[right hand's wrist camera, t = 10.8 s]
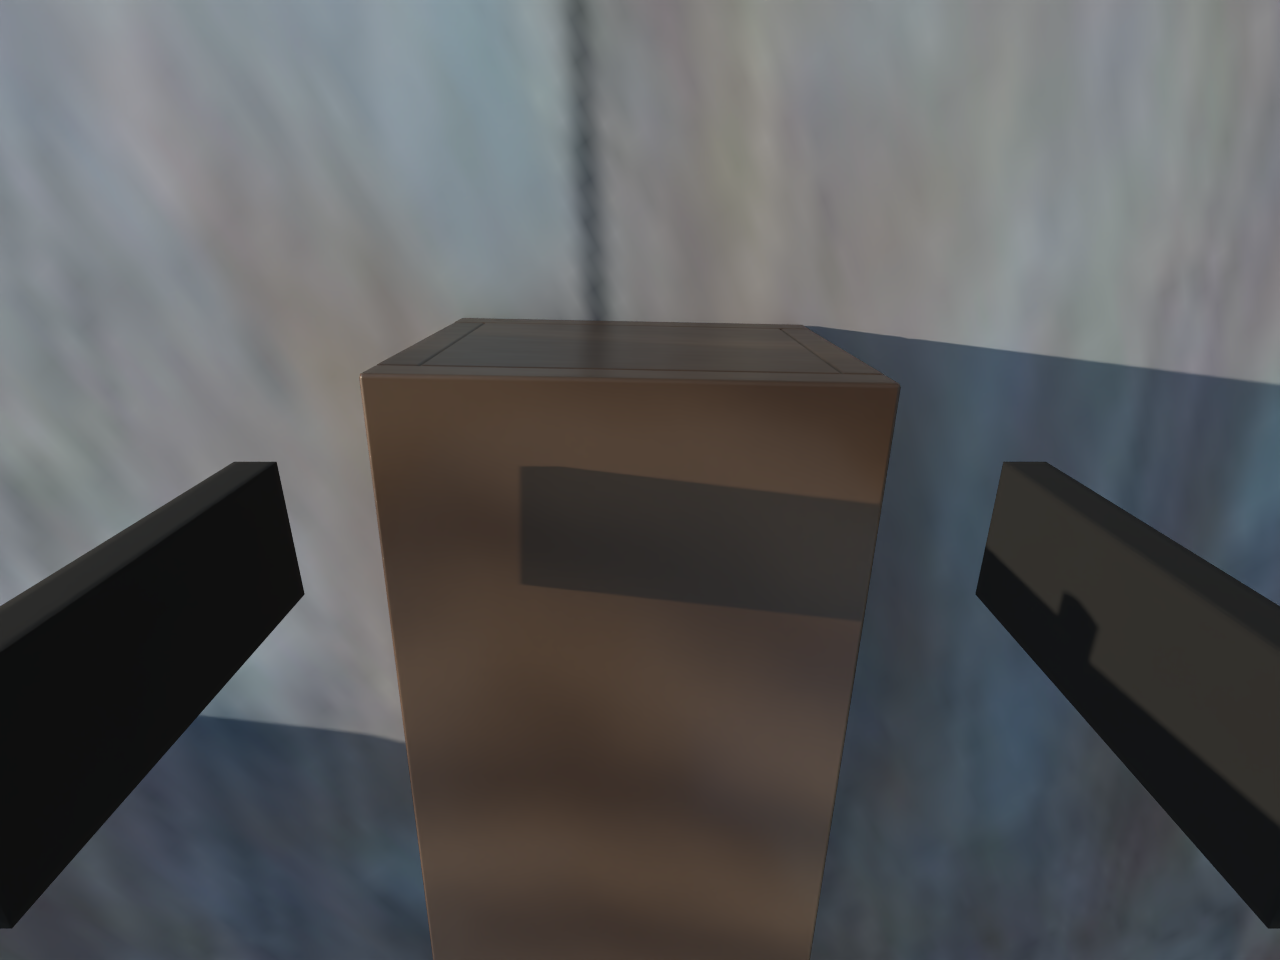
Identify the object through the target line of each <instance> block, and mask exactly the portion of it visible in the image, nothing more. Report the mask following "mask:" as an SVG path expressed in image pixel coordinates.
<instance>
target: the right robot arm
mask: <svg viewBox="0 0 1280 960" xmlns="http://www.w3.org/2000/svg"><path fill="white" fill-rule="evenodd" d="M303 595H304V590H303V585H302V580H301V576H300V571H299V566H298V561H297V557H296V552H295V547H294V542H293V538H292V533H291V528H290V523H289V519H288V514H287V509H286V504H285V500H284V495H283V490H282V485H281V481H280V476H279V471H278V466H277V462H233V463H232V464H230V465H228V466H227V467H225V468H223V469H222V470H220V471H219V472H217V473H215V474H214V475H212V476H210V477H209V478H207V479H206V480H204V481H202V482H201V483H199V484H198V485H196V486H194V487H193V488H191V489H189V490H188V491H186V492H185V493H183V494H181V495H180V496H178V497H176V498H175V499H173V500H172V501H170V502H168V503H167V504H165V505H164V506H162V507H160V508H159V509H157V510H155V511H154V512H152V513H151V514H149V515H147V516H146V517H144V518H142V519H141V520H139V521H138V522H136V523H134V524H133V525H131V526H130V527H128V528H126V529H125V530H123V531H121V532H120V533H118V534H117V535H115V536H113V537H112V538H110V539H108V540H107V541H105V542H104V543H102V544H100V545H99V546H97V547H96V548H94V549H92V550H91V551H89V552H87V553H86V554H84V555H83V556H81V557H79V558H78V559H76V560H74V561H73V562H71V563H70V564H68V565H66V566H65V567H63V568H62V569H60V570H58V571H57V572H55V573H53V574H52V575H50V576H49V577H47V578H45V579H44V580H42V581H40V582H39V583H37V584H36V585H34V586H32V587H31V588H29V589H28V590H26V591H24V592H23V593H21V594H19V595H18V596H16V597H15V598H13V599H11V600H10V601H8V602H6V603H5V604H3V605H2V606H0V928H13V927H14V925H15V924H16V923H17V922H18V921H19V920H20V919H21V917H22V916H23V915H24V914H25V913H26V912H27V911H28V909H29V908H30V907H31V906H32V905H33V904H34V903H35V901H36V900H37V899H38V898H39V897H40V896H41V895H42V893H43V892H44V891H45V890H46V889H47V888H48V887H49V885H50V884H51V883H52V882H53V881H54V880H55V879H56V877H57V876H58V875H59V874H60V873H61V872H62V871H63V869H64V868H65V867H66V866H67V865H68V864H69V863H70V861H71V860H72V859H73V858H74V857H75V856H76V855H77V853H78V852H79V851H80V850H81V849H82V848H83V847H84V845H85V844H86V843H87V842H88V841H89V840H90V839H91V837H92V836H93V835H94V834H95V833H96V832H97V831H98V829H99V828H100V827H101V826H102V825H103V824H104V823H105V821H106V820H107V819H108V818H109V817H110V816H111V815H112V813H113V812H114V811H115V810H116V809H117V808H118V807H119V805H120V804H121V803H122V802H123V801H124V800H125V799H126V798H127V796H128V795H129V794H130V793H131V792H132V791H133V790H134V788H135V787H136V786H137V785H138V784H139V783H140V782H141V780H142V779H143V778H144V777H145V776H146V775H147V774H148V772H149V771H150V770H151V769H152V768H153V767H154V766H155V764H156V763H157V762H158V761H159V760H160V759H161V758H162V756H163V755H164V754H165V753H166V752H167V751H168V750H169V748H170V747H171V746H172V745H173V744H174V743H175V742H176V740H177V739H178V738H179V737H180V736H181V735H182V734H183V732H184V731H185V730H186V729H187V728H188V727H189V726H190V724H191V723H192V722H193V721H194V720H195V719H196V718H197V716H198V715H199V714H200V713H201V712H202V711H203V710H204V708H205V707H206V706H207V705H208V704H209V703H210V702H211V700H212V699H213V698H214V697H215V696H216V695H217V694H218V692H219V691H220V690H221V689H222V688H223V687H224V686H225V684H226V683H227V682H228V681H229V680H230V679H231V678H232V676H233V675H234V674H235V673H236V672H237V671H238V670H239V668H240V667H241V666H242V665H243V664H244V663H245V662H246V660H247V659H248V658H249V657H250V656H251V655H252V654H253V652H254V651H255V650H256V649H257V648H258V647H259V646H260V645H261V643H262V642H263V641H264V640H265V639H266V638H267V637H268V635H269V634H270V633H271V632H272V631H273V630H274V629H275V627H276V626H277V625H278V624H279V623H280V622H281V621H282V619H283V618H284V617H285V616H286V615H287V614H288V613H289V611H290V610H291V609H292V608H293V607H294V606H295V605H296V603H297V602H298V601H299V600H300V599H301V598H302V597H303ZM976 595H977V597H978V598H979V599H980V600H981V601H982V602H983V603H984V605H985V606H986V607H987V608H988V609H989V610H990V611H991V613H992V614H993V615H994V616H995V617H996V618H997V619H998V621H999V622H1000V623H1001V624H1002V625H1003V626H1004V627H1005V629H1006V630H1007V631H1008V632H1009V633H1010V634H1011V635H1012V637H1013V638H1014V639H1015V640H1016V641H1017V642H1018V643H1019V645H1020V646H1021V647H1022V648H1023V649H1024V650H1025V651H1026V652H1027V654H1028V655H1029V656H1030V657H1031V658H1032V659H1033V660H1034V662H1035V663H1036V664H1037V665H1038V666H1039V667H1040V668H1041V670H1042V671H1043V672H1044V673H1045V674H1046V675H1047V676H1048V678H1049V679H1050V680H1051V681H1052V682H1053V683H1054V684H1055V686H1056V687H1057V688H1058V689H1059V690H1060V691H1061V692H1062V694H1063V695H1064V696H1065V697H1066V698H1067V699H1068V700H1069V702H1070V703H1071V704H1072V705H1073V706H1074V707H1075V708H1076V710H1077V711H1078V712H1079V713H1080V714H1081V715H1082V716H1083V718H1084V719H1085V720H1086V721H1087V722H1088V723H1089V724H1090V726H1091V727H1092V728H1093V729H1094V730H1095V731H1096V732H1097V734H1098V735H1099V736H1100V737H1101V738H1102V739H1103V740H1104V742H1105V743H1106V744H1107V745H1108V746H1109V747H1110V748H1111V750H1112V751H1113V752H1114V753H1115V754H1116V755H1117V756H1118V758H1119V759H1120V760H1121V761H1122V762H1123V763H1124V764H1125V766H1126V767H1127V768H1128V769H1129V770H1130V771H1131V772H1132V774H1133V775H1134V776H1135V777H1136V778H1137V779H1138V780H1139V782H1140V783H1141V784H1142V785H1143V786H1144V787H1145V788H1146V790H1147V791H1148V792H1149V793H1150V794H1151V795H1152V796H1153V798H1154V799H1155V800H1156V801H1157V802H1158V803H1159V804H1160V805H1161V807H1162V808H1163V809H1164V810H1165V811H1166V812H1167V813H1168V815H1169V816H1170V817H1171V818H1172V819H1173V820H1174V821H1175V823H1176V824H1177V825H1178V826H1179V827H1180V828H1181V829H1182V831H1183V832H1184V833H1185V834H1186V835H1187V836H1188V837H1189V839H1190V840H1191V841H1192V842H1193V843H1194V844H1195V845H1196V847H1197V848H1198V849H1199V850H1200V851H1201V852H1202V853H1203V855H1204V856H1205V857H1206V858H1207V859H1208V860H1209V861H1210V863H1211V864H1212V865H1213V866H1214V867H1215V868H1216V869H1217V871H1218V872H1219V873H1220V874H1221V875H1222V876H1223V877H1224V879H1225V880H1226V881H1227V882H1228V883H1229V884H1230V885H1231V887H1232V888H1233V889H1234V890H1235V891H1236V892H1237V893H1238V895H1239V896H1240V897H1241V898H1242V899H1243V900H1244V901H1245V903H1246V904H1247V905H1248V906H1249V907H1250V908H1251V909H1252V911H1253V912H1254V913H1255V914H1256V915H1257V916H1258V917H1259V919H1260V920H1261V921H1262V922H1263V923H1264V924H1265V925H1266V927H1267V928H1280V606H1278V605H1277V604H1275V603H1274V602H1272V601H1270V600H1269V599H1267V598H1265V597H1264V596H1262V595H1261V594H1259V593H1257V592H1256V591H1254V590H1252V589H1251V588H1249V587H1248V586H1246V585H1244V584H1243V583H1241V582H1240V581H1238V580H1236V579H1235V578H1233V577H1231V576H1230V575H1228V574H1227V573H1225V572H1223V571H1222V570H1220V569H1218V568H1217V567H1215V566H1214V565H1212V564H1210V563H1209V562H1207V561H1206V560H1204V559H1202V558H1201V557H1199V556H1197V555H1196V554H1194V553H1193V552H1191V551H1189V550H1188V549H1186V548H1184V547H1183V546H1181V545H1180V544H1178V543H1176V542H1175V541H1173V540H1172V539H1170V538H1168V537H1167V536H1165V535H1163V534H1162V533H1160V532H1159V531H1157V530H1155V529H1154V528H1152V527H1150V526H1149V525H1147V524H1146V523H1144V522H1142V521H1141V520H1139V519H1138V518H1136V517H1134V516H1133V515H1131V514H1129V513H1128V512H1126V511H1125V510H1123V509H1121V508H1120V507H1118V506H1116V505H1115V504H1113V503H1112V502H1110V501H1108V500H1107V499H1105V498H1104V497H1102V496H1100V495H1099V494H1097V493H1095V492H1094V491H1092V490H1091V489H1089V488H1087V487H1086V486H1084V485H1082V484H1081V483H1079V482H1078V481H1076V480H1074V479H1073V478H1071V477H1070V476H1068V475H1066V474H1065V473H1063V472H1061V471H1060V470H1058V469H1057V468H1055V467H1053V466H1052V465H1050V464H1048V463H1047V462H1003V466H1002V471H1001V476H1000V481H999V485H998V490H997V495H996V500H995V504H994V509H993V514H992V519H991V523H990V528H989V533H988V538H987V542H986V547H985V552H984V557H983V561H982V566H981V571H980V576H979V580H978V585H977V590H976Z"/></svg>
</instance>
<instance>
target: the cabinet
mask: <svg viewBox="0 0 1280 960" xmlns="http://www.w3.org/2000/svg"><path fill="white" fill-rule="evenodd" d="M359 378H360V386H361V394H362V402H363V410H364V418H365V426H366V433H367V441H368V449H369V457H370V465H371V473H372V481H373V489H374V497H375V504H376V512H377V520H378V528H379V536H380V544H381V552H382V560H383V568H384V575H385V583H386V591H387V599H388V607H389V615H390V623H391V631H392V639H393V646H394V654H395V662H396V670H397V678H398V686H399V694H400V702H401V710H402V717H403V725H404V733H405V741H406V749H407V757H408V765H409V773H410V781H411V788H412V796H413V804H414V812H415V820H416V828H417V836H418V844H419V852H420V859H421V867H422V875H423V883H424V891H425V899H426V907H427V915H428V923H429V930H430V938H431V946H432V954H433V960H810V955H811V948H812V942H813V936H814V930H815V923H816V917H817V911H818V904H819V898H820V892H821V885H822V879H823V873H824V867H825V860H826V854H827V848H828V841H829V835H830V829H831V822H832V816H833V810H834V804H835V797H836V791H837V785H838V778H839V772H840V766H841V759H842V753H843V747H844V741H845V734H846V728H847V722H848V715H849V709H850V703H851V696H852V690H853V684H854V678H855V671H856V665H857V659H858V652H859V646H860V640H861V633H862V627H863V621H864V615H865V608H866V602H867V596H868V589H869V583H870V577H871V570H872V564H873V558H874V552H875V545H876V539H877V533H878V526H879V520H880V514H881V507H882V501H883V495H884V489H885V482H886V476H887V470H888V463H889V457H890V451H891V444H892V438H893V432H894V426H895V419H896V413H897V407H898V400H899V394H900V388H901V387H900V384H899V383H897V382H895V381H894V380H892V379H890V378H889V377H887V376H885V375H884V374H882V373H881V372H879V371H877V370H876V369H874V368H872V367H871V366H869V365H867V364H866V363H864V362H862V361H861V360H859V359H857V358H856V357H854V356H852V355H851V354H849V353H847V352H846V351H844V350H842V349H841V348H839V347H837V346H836V345H834V344H832V343H831V342H829V341H827V340H826V339H824V338H822V337H821V336H819V335H817V334H816V333H814V332H812V331H811V330H810V329H808V328H806V327H805V326H803V325H778V324H729V323H679V322H629V321H580V320H530V319H480V318H462V319H460V320H458V321H456V322H455V323H453V324H451V325H449V326H448V327H446V328H444V329H442V330H440V331H438V332H436V333H435V334H433V335H431V336H429V337H427V338H425V339H424V340H422V341H420V342H418V343H416V344H414V345H412V346H411V347H409V348H407V349H405V350H403V351H401V352H400V353H398V354H396V355H394V356H392V357H390V358H388V359H387V360H385V361H383V362H381V363H379V364H377V366H374V367H372V368H370V369H369V370H367V371H365V372H363V373H361V374H360V377H359Z"/></svg>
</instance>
